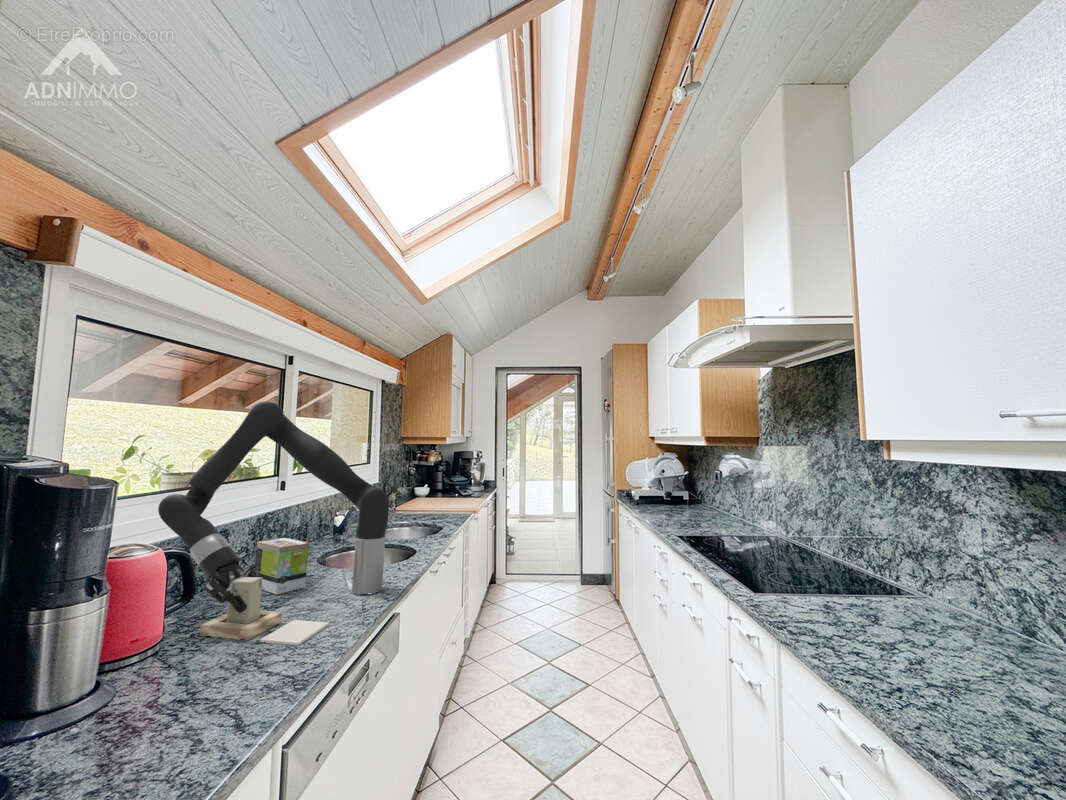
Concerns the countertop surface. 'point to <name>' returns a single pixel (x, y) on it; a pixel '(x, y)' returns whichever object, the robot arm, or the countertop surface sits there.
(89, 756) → the countertop surface
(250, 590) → the skincare box
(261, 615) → the frame
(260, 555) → the tea box
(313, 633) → the pad
